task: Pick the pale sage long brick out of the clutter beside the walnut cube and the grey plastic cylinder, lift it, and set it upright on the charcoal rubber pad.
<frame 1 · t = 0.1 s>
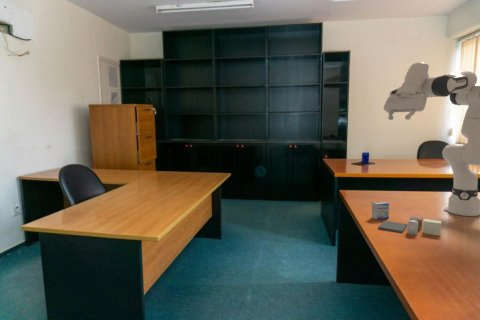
hand: (398, 119, 155), 54 cm above the table, tool tilted 30°, fingers open, 8 cm apart
charcoal pad: (392, 227, 164), on the table
sage brick: (431, 233, 155), on the table
grey plastic cylinder: (412, 233, 155), on the table
walnut cube: (415, 227, 164), on the table
medicine box: (380, 218, 180), on the table
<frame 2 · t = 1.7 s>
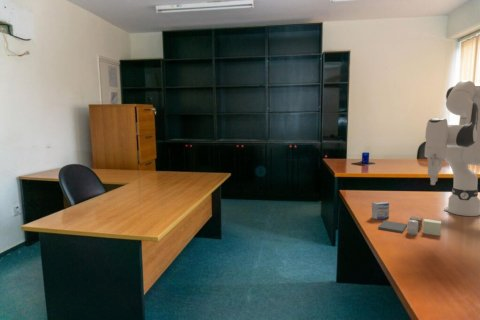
hand: (433, 182, 152), 24 cm above the table, tool pointing down, fingers open, 8 cm apart
nothing on the table moved.
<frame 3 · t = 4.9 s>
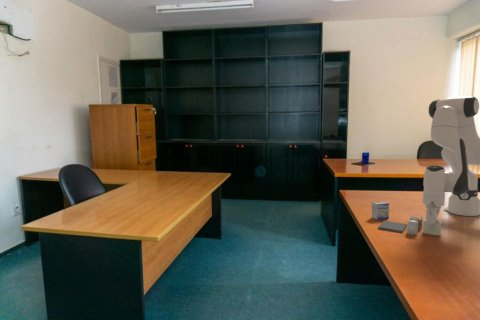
hand: (432, 228, 155), 2 cm above the table, tool pointing down, fingers closed on sage brick, 4 cm apart
sage brick: (431, 233, 155), on the table, touching gripper
everything else where it was.
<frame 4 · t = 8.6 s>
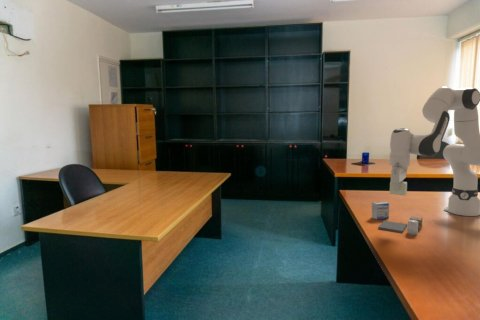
hand: (398, 189, 160), 20 cm above the table, tool pointing down, fingers closed on sage brick, 4 cm apart
sage brick: (398, 193, 161), point 18 cm above the table, touching gripper
everything else where it was.
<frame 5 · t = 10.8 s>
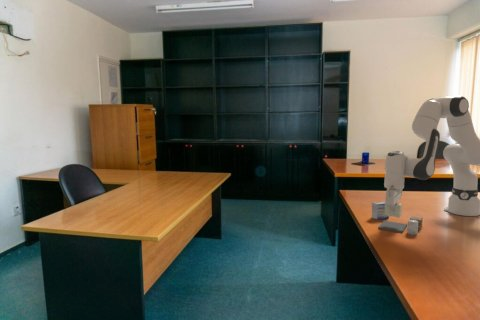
hand: (393, 211, 163), 8 cm above the table, tool pointing down, fingers closed on sage brick, 4 cm apart
sage brick: (392, 215, 163), point 6 cm above the table, touching gripper
everything else where it was.
when the fingers open (5 cm above the table, at t = 12.4 s): sage brick drops 1 cm, resting on charcoal pad.
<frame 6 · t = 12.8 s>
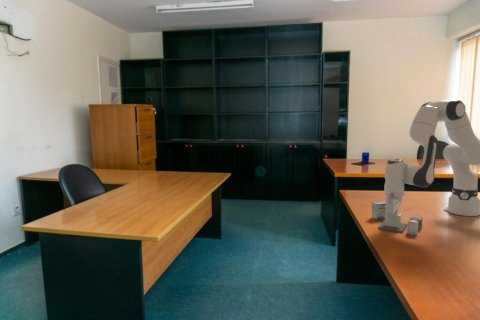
hand: (393, 218, 164), 5 cm above the table, tool pointing down, fingers open, 8 cm apart
sage brick: (392, 225, 164), point 1 cm above the table, touching charcoal pad
everything else where it was.
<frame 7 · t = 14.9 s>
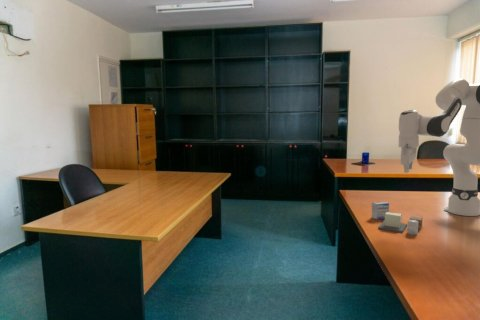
hand: (408, 170, 163), 28 cm above the table, tool pointing down, fingers open, 8 cm apart
nothing on the table moved.
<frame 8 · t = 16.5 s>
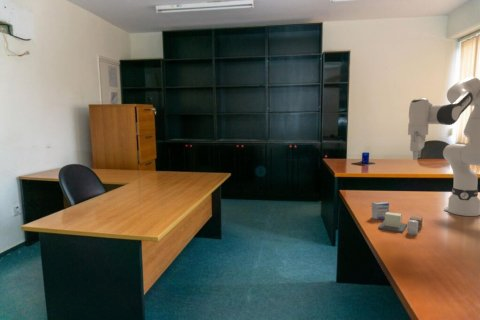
hand: (416, 158, 164), 34 cm above the table, tool pointing down, fingers open, 8 cm apart
nothing on the table moved.
at the end: sage brick inside the target area on the charcoal pad (0.1 cm from its centre), point 1.0 cm above the charcoal pad's base; sage brick tilted 0°; the gripper is holding nothing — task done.
